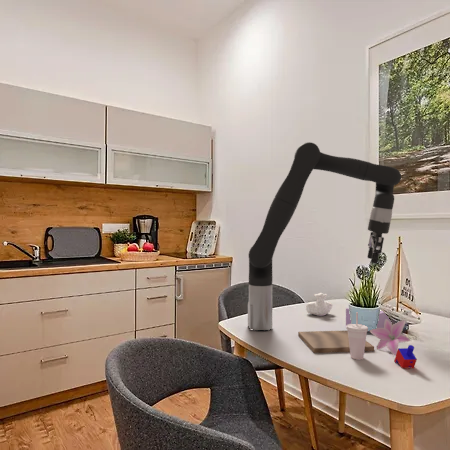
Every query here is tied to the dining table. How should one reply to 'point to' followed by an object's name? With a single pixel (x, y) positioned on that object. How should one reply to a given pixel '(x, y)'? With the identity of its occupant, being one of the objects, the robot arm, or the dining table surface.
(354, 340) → the smoothie
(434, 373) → the dining table surface
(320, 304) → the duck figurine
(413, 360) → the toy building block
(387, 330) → the lily
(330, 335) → the walnut board
